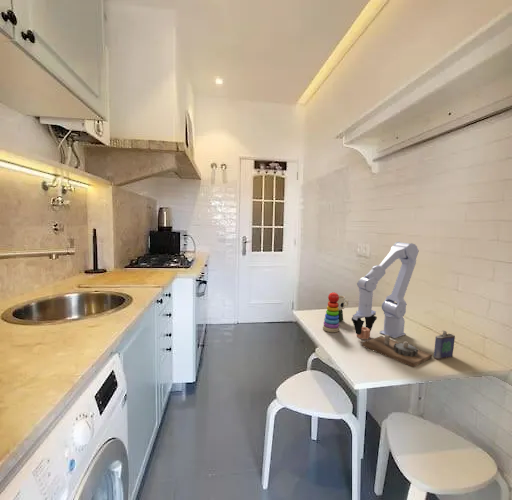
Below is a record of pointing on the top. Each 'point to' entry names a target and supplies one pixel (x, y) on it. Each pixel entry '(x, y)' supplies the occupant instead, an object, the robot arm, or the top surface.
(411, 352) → the board
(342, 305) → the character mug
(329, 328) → the stacking toy
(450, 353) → the flask
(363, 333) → the terracotta gear
